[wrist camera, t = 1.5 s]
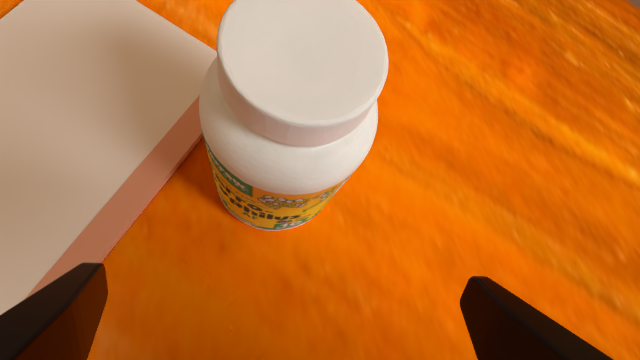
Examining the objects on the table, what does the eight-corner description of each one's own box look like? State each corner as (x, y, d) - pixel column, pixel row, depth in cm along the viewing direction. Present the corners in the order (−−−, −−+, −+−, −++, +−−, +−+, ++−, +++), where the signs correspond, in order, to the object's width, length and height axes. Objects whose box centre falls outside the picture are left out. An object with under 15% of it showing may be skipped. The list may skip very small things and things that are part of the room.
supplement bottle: (346, 156, 25) (447, 21, 13) (300, 254, 22) (371, 201, 10) (249, 105, 24) (258, -82, 12) (190, 199, 22) (130, 77, 10)
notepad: (-18, 410, 17) (-28, 414, 16) (-276, 254, 17) (-295, 252, 16) (250, 77, 25) (250, 72, 24) (77, -32, 25) (73, -40, 24)
